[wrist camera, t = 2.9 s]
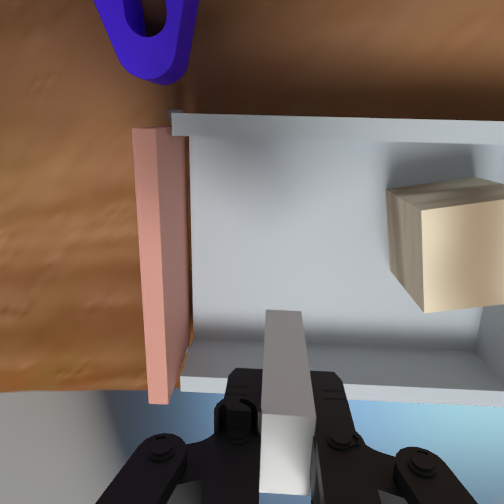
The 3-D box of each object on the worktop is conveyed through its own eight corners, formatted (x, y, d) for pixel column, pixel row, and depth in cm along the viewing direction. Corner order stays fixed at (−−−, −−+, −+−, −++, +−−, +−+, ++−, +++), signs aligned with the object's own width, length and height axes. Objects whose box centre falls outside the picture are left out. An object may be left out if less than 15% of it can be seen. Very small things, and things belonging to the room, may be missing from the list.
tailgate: (140, 403, 25) (168, 404, 25) (121, 127, 20) (155, 128, 20) (169, 338, 33) (190, 338, 33) (160, 126, 28) (184, 126, 28)
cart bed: (183, 335, 36) (159, 393, 28) (176, 110, 30) (143, 106, 22) (468, 348, 35) (523, 411, 27) (516, 118, 29) (603, 117, 22)
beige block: (389, 270, 30) (424, 313, 23) (385, 189, 28) (421, 210, 21) (474, 260, 29) (534, 300, 23) (475, 176, 28) (541, 194, 21)
